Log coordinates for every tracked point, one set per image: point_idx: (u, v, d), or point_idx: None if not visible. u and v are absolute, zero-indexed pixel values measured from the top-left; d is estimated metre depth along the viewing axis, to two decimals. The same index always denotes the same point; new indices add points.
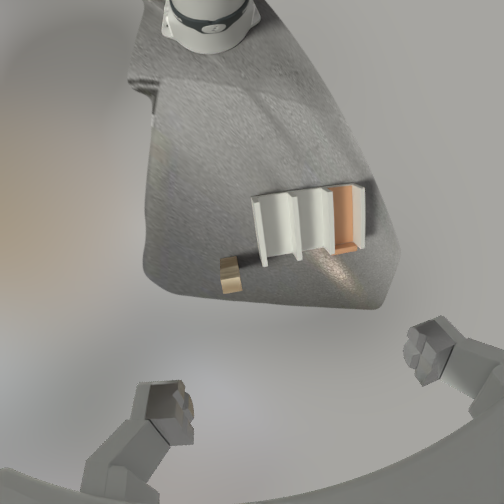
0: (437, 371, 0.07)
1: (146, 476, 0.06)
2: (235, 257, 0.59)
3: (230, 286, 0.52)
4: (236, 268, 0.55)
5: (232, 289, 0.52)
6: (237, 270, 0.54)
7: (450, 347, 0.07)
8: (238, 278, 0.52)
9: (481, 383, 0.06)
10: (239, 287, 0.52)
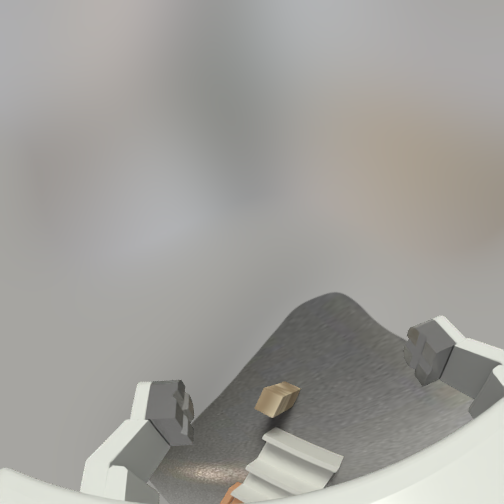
0: (437, 371, 0.07)
1: (146, 476, 0.06)
2: (291, 406, 0.41)
3: (267, 400, 0.35)
4: (282, 411, 0.37)
5: (262, 400, 0.35)
6: (279, 413, 0.36)
7: (450, 347, 0.07)
8: (271, 415, 0.34)
9: (481, 383, 0.06)
10: (260, 408, 0.35)
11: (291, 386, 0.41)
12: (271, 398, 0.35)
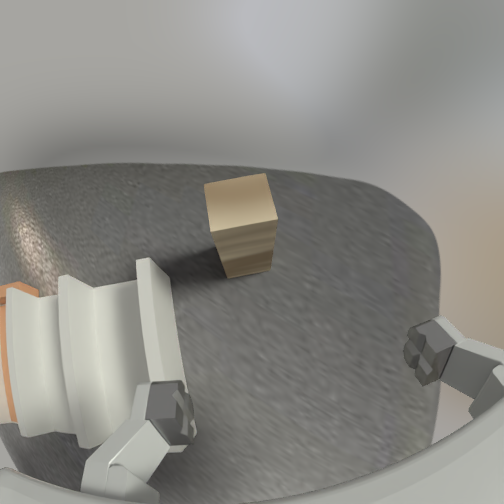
0: (437, 371, 0.07)
1: (146, 476, 0.06)
2: (230, 276, 0.22)
3: (242, 195, 0.15)
4: (224, 253, 0.18)
5: (236, 187, 0.15)
6: (220, 249, 0.17)
7: (450, 347, 0.07)
8: (215, 225, 0.15)
9: (481, 383, 0.06)
10: (212, 194, 0.15)
11: None
12: (255, 199, 0.15)
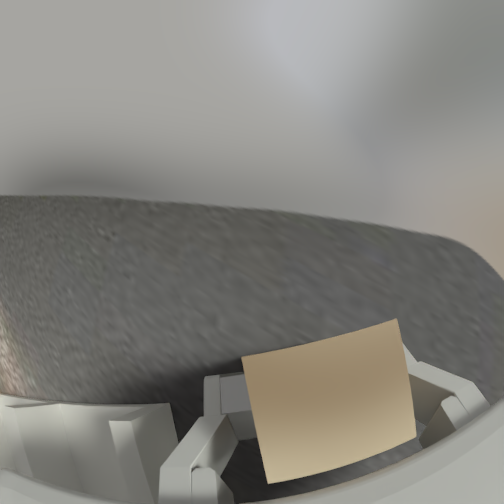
0: None
1: None
2: None
3: (347, 391, 0.05)
4: None
5: (330, 367, 0.05)
6: None
7: None
8: (278, 470, 0.05)
9: (434, 411, 0.06)
10: (267, 389, 0.05)
11: None
12: (375, 399, 0.05)
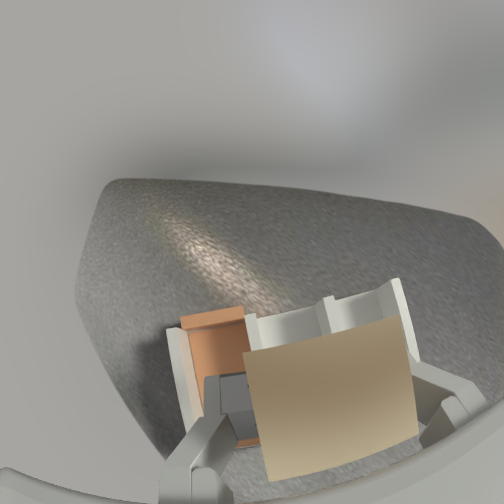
0: None
1: None
2: None
3: (349, 388, 0.05)
4: None
5: (332, 363, 0.05)
6: None
7: None
8: (279, 468, 0.04)
9: (434, 411, 0.06)
10: (268, 385, 0.05)
11: None
12: (377, 396, 0.05)
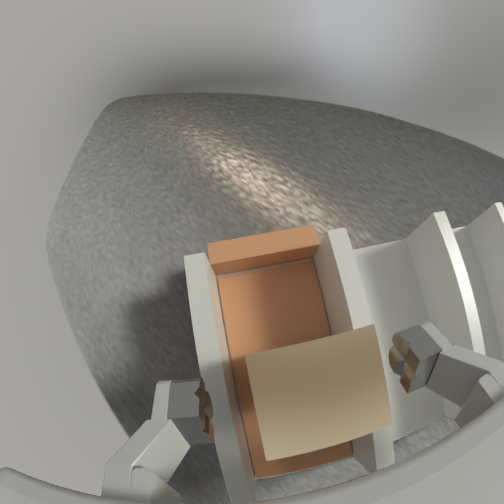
0: (422, 378, 0.07)
1: (166, 477, 0.06)
2: None
3: (331, 383, 0.06)
4: None
5: (317, 363, 0.07)
6: None
7: (435, 354, 0.07)
8: (274, 449, 0.06)
9: (468, 391, 0.06)
10: (265, 380, 0.06)
11: None
12: (355, 391, 0.06)
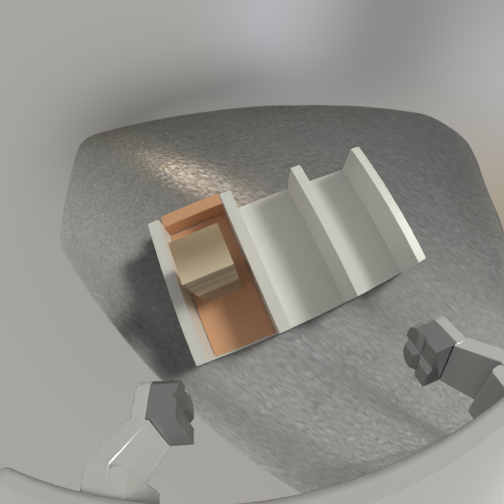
0: (437, 371, 0.07)
1: (146, 476, 0.06)
2: (209, 301, 0.25)
3: (201, 248, 0.18)
4: (199, 292, 0.21)
5: (195, 241, 0.18)
6: (194, 290, 0.20)
7: (450, 347, 0.07)
8: (184, 279, 0.17)
9: (481, 383, 0.06)
10: (176, 251, 0.18)
11: None
12: (212, 250, 0.18)
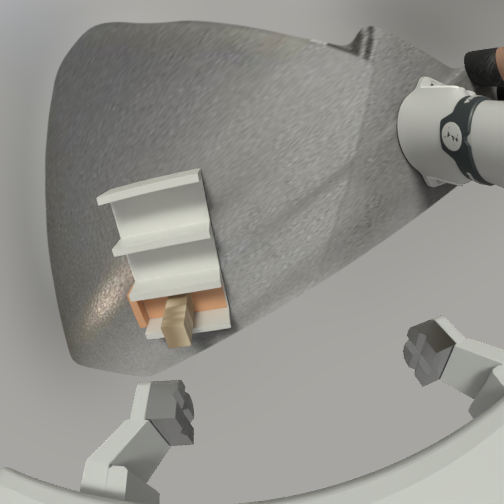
0: (437, 371, 0.07)
1: (146, 476, 0.06)
2: (194, 306, 0.42)
3: (173, 335, 0.33)
4: (191, 326, 0.37)
5: (169, 337, 0.33)
6: (191, 331, 0.36)
7: (450, 347, 0.07)
8: (188, 344, 0.34)
9: (481, 383, 0.06)
10: (173, 345, 0.34)
11: None
12: (175, 331, 0.33)
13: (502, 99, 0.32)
